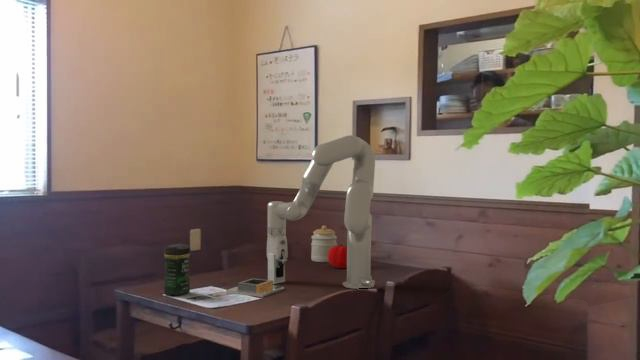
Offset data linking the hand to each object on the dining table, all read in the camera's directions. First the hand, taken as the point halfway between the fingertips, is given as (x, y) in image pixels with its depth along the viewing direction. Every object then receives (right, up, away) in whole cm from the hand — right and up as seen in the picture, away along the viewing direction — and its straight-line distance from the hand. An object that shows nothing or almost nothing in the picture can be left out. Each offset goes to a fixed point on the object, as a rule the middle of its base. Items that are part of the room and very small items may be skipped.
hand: (276, 275), depth 251 cm
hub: (-7, -3, -17) cm, 18 cm away
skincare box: (0, -3, 0) cm, 3 cm away
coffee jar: (-35, -3, -23) cm, 42 cm away
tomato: (+28, -2, +36) cm, 45 cm away
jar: (+20, -1, +56) cm, 59 cm away
